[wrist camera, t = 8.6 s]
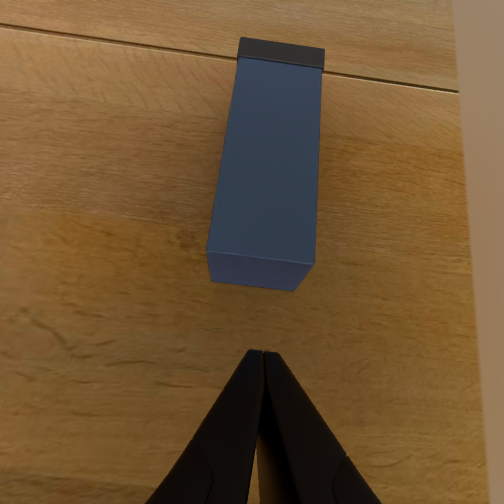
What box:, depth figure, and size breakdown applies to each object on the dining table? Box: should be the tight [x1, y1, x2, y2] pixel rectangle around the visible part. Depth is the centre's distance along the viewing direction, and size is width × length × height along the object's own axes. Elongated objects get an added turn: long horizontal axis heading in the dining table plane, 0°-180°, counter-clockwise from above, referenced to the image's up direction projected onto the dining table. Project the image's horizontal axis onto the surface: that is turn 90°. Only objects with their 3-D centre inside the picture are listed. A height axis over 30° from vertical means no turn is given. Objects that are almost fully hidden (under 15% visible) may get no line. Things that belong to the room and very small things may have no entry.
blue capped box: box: [206, 37, 325, 291], centre depth 20 cm, size 5×5×14 cm
